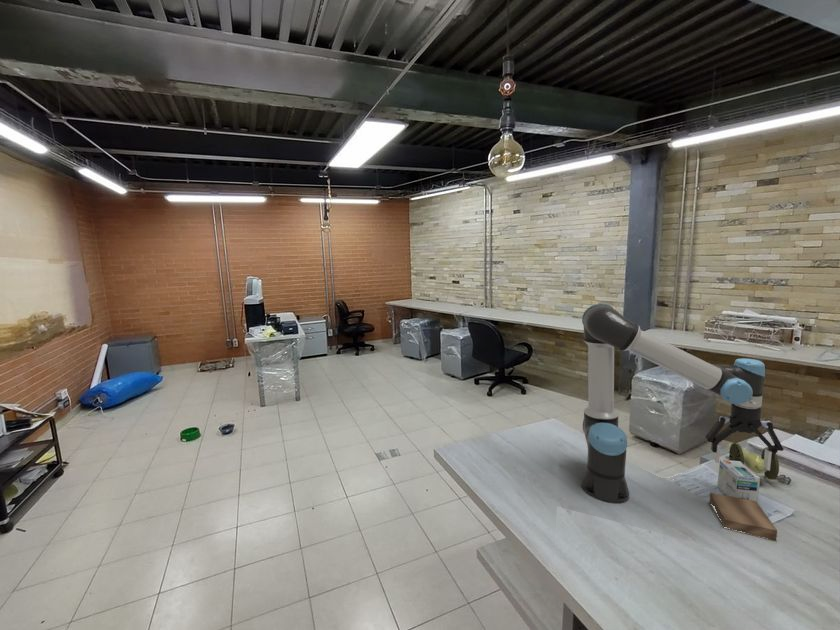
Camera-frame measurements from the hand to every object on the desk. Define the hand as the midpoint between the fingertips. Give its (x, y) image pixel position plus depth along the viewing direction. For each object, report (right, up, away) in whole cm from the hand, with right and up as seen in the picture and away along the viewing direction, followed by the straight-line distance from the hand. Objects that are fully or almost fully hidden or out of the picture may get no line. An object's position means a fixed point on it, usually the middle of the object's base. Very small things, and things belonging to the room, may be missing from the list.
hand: (740, 464), depth 126 cm
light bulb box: (0, -12, +2) cm, 12 cm away
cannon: (+19, -9, +20) cm, 29 cm away
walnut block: (-10, -14, -11) cm, 21 cm away
